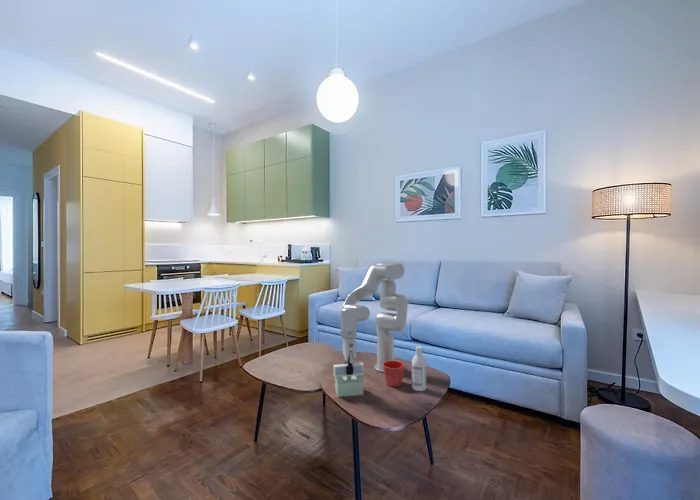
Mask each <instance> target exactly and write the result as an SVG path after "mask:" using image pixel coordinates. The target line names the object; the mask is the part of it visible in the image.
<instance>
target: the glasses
mask: <svg viewBox="0 0 700 500" xmlns="http://www.w3.org/2000/svg"><path fill="white" fill-rule="evenodd" d="M346 366H347V364H345V363H341V364H333V378H335V377H347V376H359V375H362V376H364V371H365V370H364V367H365V366H364V362H353V375H347V374H346Z"/></svg>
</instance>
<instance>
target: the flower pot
mask: <svg viewBox="0 0 700 500" xmlns="http://www.w3.org/2000/svg"><path fill="white" fill-rule="evenodd" d="M399 361H400V360H398V361H396V360H395V361H387V362H385V363H383V368H384V372H383V373H384V379H385V384H386V385H387V386H389V387H400V386H402V384H403V378H404V375H405V373H404V372H405V365H406V364H405V363H404V362H403V361H402V362H399Z"/></svg>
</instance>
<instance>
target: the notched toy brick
mask: <svg viewBox="0 0 700 500" xmlns="http://www.w3.org/2000/svg"><path fill="white" fill-rule="evenodd" d="M334 390H335V393H336V397H337V398H340V397H341V398H342V397H343V396H344V397H352V396H353V397H354V396H363V395H364V375H359V376H347V377H334Z"/></svg>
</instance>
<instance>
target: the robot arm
mask: <svg viewBox="0 0 700 500" xmlns="http://www.w3.org/2000/svg"><path fill="white" fill-rule="evenodd" d="M404 275H405V267H404V265H403V264H402V263H401V262H385V261H384V262H378V263H376V264H372V265H370V266H369V268H368V270H367V272H366V274H365V276H364V278H363V281H362V282H361V285H360V286H359V287H357V288H356V289H354V290H353V291H352V292H350V293H349V294H348V295H347V297H346V299H345V300H344V303H343V305H342V307H341V309H340V338H341V339H342V354H343V357H344V364H347V366H346V374H347V375H353V363H354V361H356V360H357V345H356V339H357V337H358V332H357V331H358V329H357V324H358V322H365V321H367V320H369V318H370V314H371V311H370V309H369V308H368V306H365V305H359V304H357V303H358V302H359V301H361V300H364V299H366V298H369V297H371V296H373V295H375V294H376V293H377V290H378V288H379V286H381V287H380V296H379V307H380V308H381V310H386V311H391V312H382V311H381V312H378V313H377V314H376V315H375V318H374V322H375V329H376V363H375V364H374V368H373V369H375V370H376V371H378V372H381V373H384V368H383V363H385V362H387V361H399V362H402V363H403V360H397V359H396V360H395V337H394V334H393V332H397V333H402V332H403V331H405V329H406V326H407V318H408V317H407V316H408V308H409V307H408V303H409V302H408V298H407V296H405V295H403V294H398V293H397V291H396V290H397V284H396V280H398V279H401V278H403V276H404ZM393 312H396V313H393Z"/></svg>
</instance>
